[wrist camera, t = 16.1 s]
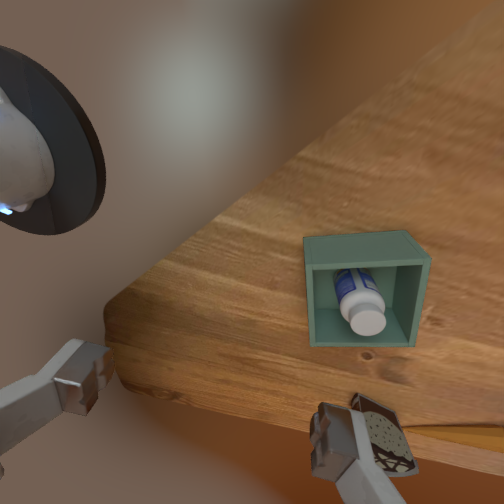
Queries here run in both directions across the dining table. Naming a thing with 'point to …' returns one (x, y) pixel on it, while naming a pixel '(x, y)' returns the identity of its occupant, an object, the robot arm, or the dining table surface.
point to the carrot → (465, 435)
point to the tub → (385, 276)
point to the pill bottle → (360, 300)
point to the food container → (386, 438)
